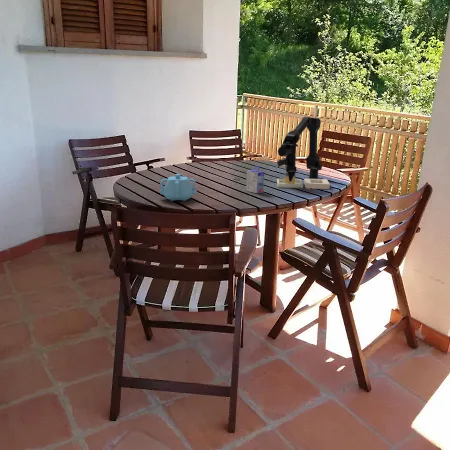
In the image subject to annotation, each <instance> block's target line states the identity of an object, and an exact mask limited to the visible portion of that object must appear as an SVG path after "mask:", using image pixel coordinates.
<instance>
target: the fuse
mask: <svg viewBox="0 0 450 450" xmlns="http://www.w3.org/2000/svg"><path fill="white" fill-rule="evenodd" d="M284 179H285V183H289V184H295V179H296V173H295V174H294V176H293V178H292V181H291V182H290V181H289V176H288V173H287V172H284Z"/></svg>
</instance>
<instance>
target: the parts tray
mask: <svg viewBox="0 0 450 450" xmlns="http://www.w3.org/2000/svg"><path fill="white" fill-rule="evenodd" d="M303 184H304V182H303V181H302V179H299V178H297V179H296V178H295V184H289V183H285V178H277V179H276V185H277V188H279V189H280V188H281V189H282V188H283V189H285V188H286V189H303V188H304V185H303Z"/></svg>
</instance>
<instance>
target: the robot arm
mask: <svg viewBox="0 0 450 450" xmlns="http://www.w3.org/2000/svg"><path fill="white" fill-rule="evenodd" d="M321 124H322V121H321V119H320V118H319V117H310V116H303V117H302V118H301V121H300V122H299V123H298V124H297V125H296V127H295V128H293V130H290V131H289V132H287V134H285V137H284V139H283V141H282V144H281V145H280V147H278V149H277V154H278V155H279V156H280V157H284V158H281V159H278V160H276V163H277V166H278V167H282V166H284V168H285V171H286V172H285V173H288V176H289V181H290V182H291V181H292V178H293V176H294V174H295V175H296V173H297V166H296V162H297V160H296V159H297V147H299V145H298V144H297V143H299V141H300V139H301V135H302V133H303V132H304V131H305V129H307V130H308V132H309V142H308V143H309V147H308V151H309V154H308V156H306V158H305V164H306V169H307V170H309V175H308V177H307V179H320V178H319V171H322V170H323V165H322V163H321V161H320V156H319V154H318V131H319V130H320V129H321Z"/></svg>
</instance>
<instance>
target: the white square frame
mask: <svg viewBox="0 0 450 450" xmlns="http://www.w3.org/2000/svg"><path fill="white" fill-rule="evenodd" d="M303 184H305V185H304V187H305V189H310V188H312V189H313V190H314V189H316V190H319V189H320V190H330V188H331V184H330V182H329V181H328V179H326V178H325V179H324V178H323V179H322V178H319V179H309V178H304V179H303Z"/></svg>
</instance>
